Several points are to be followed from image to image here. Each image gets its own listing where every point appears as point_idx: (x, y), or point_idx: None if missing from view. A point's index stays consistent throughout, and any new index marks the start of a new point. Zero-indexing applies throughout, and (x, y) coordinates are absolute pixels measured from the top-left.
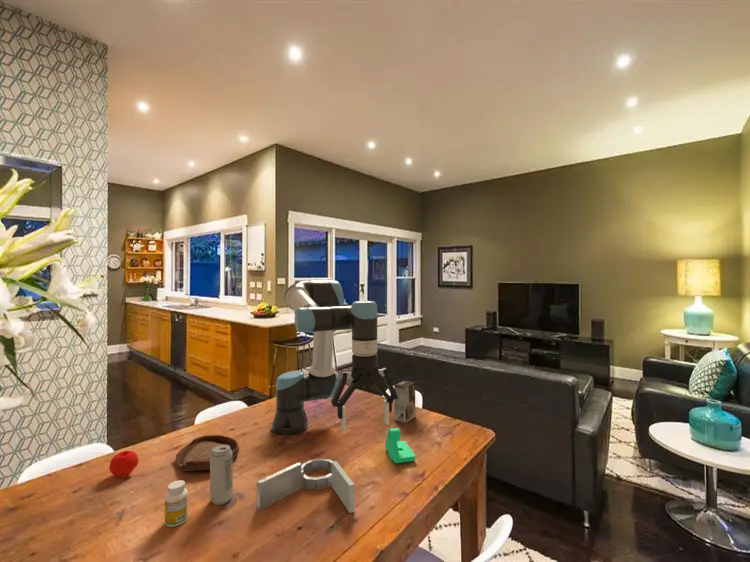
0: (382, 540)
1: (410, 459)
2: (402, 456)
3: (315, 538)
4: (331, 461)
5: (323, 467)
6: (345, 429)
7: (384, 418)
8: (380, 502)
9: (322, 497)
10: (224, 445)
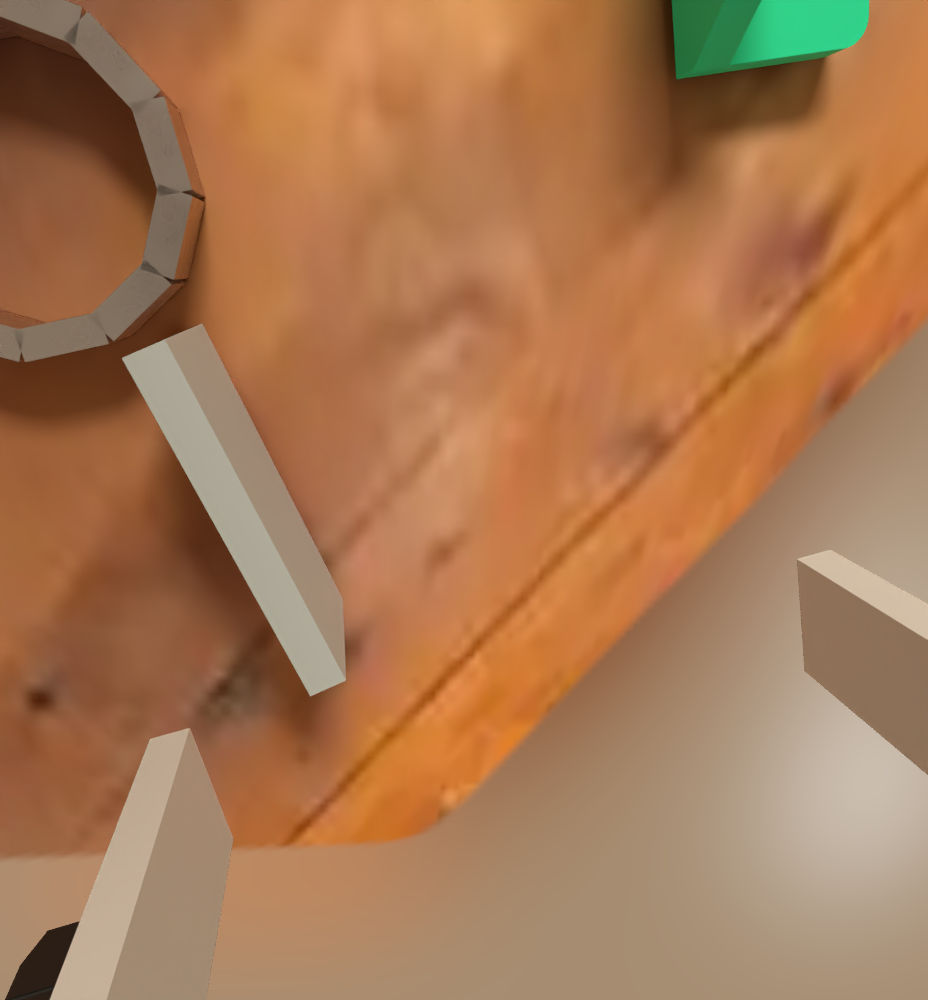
0: (471, 768)
1: (807, 57)
2: (761, 34)
3: None
4: (110, 54)
5: (45, 44)
6: (230, 852)
7: (836, 612)
8: (495, 513)
9: (121, 445)
10: None
